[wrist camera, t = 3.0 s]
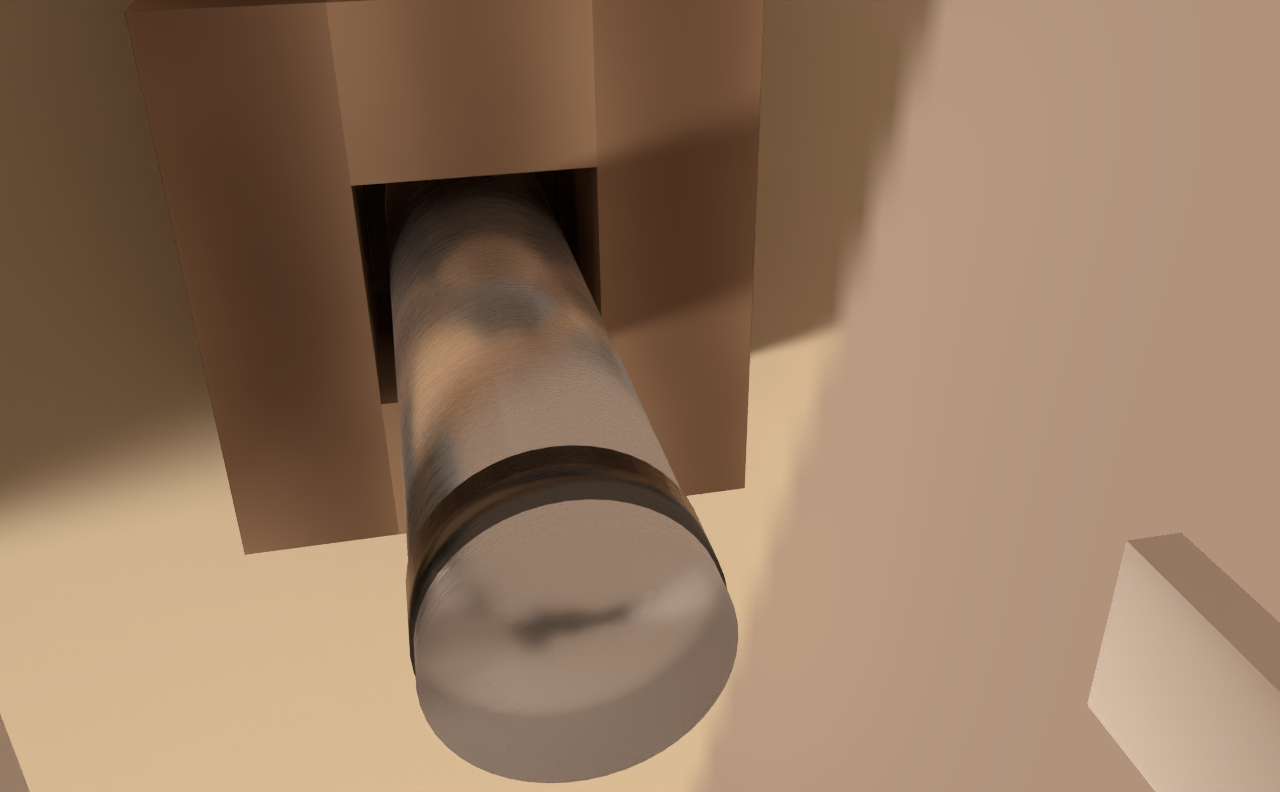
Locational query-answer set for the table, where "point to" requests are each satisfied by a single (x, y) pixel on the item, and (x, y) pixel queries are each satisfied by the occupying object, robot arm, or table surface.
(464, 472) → the pin
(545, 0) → the wooden square socket block
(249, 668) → the table surface
